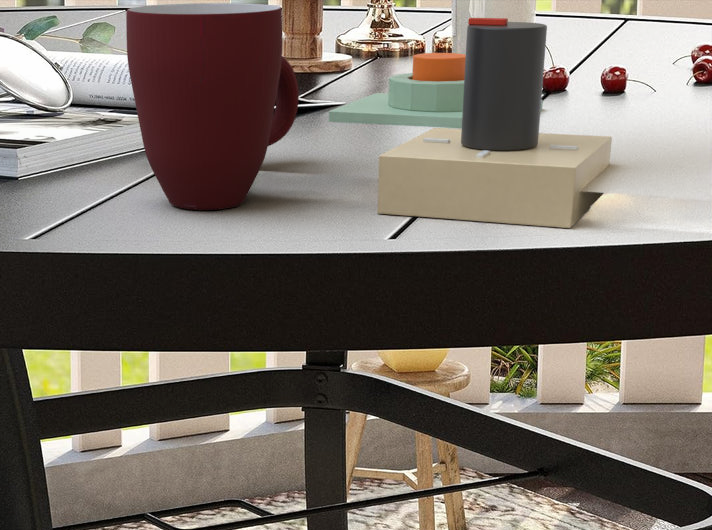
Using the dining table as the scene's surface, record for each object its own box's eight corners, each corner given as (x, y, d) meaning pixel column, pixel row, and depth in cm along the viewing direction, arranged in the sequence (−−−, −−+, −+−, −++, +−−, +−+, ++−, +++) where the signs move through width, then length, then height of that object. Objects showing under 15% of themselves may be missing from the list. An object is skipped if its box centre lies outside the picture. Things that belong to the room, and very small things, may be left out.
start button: (472, 80, 95) (474, 53, 94) (458, 86, 92) (459, 59, 91) (420, 78, 96) (422, 52, 95) (405, 85, 93) (406, 57, 92)
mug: (226, 177, 83) (225, -2, 79) (337, 193, 78) (342, 3, 74) (101, 206, 76) (92, 10, 72) (215, 225, 71) (213, 16, 67)
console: (606, 192, 77) (612, 133, 76) (570, 228, 69) (576, 163, 68) (431, 180, 81) (433, 124, 80) (376, 213, 73) (379, 151, 72)
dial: (545, 140, 75) (555, 16, 72) (528, 152, 71) (538, 22, 69) (471, 137, 76) (478, 15, 74) (451, 148, 73) (458, 21, 71)
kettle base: (540, 132, 97) (545, 72, 96) (506, 155, 89) (510, 89, 87) (375, 124, 102) (377, 66, 100) (328, 144, 93) (329, 82, 92)
